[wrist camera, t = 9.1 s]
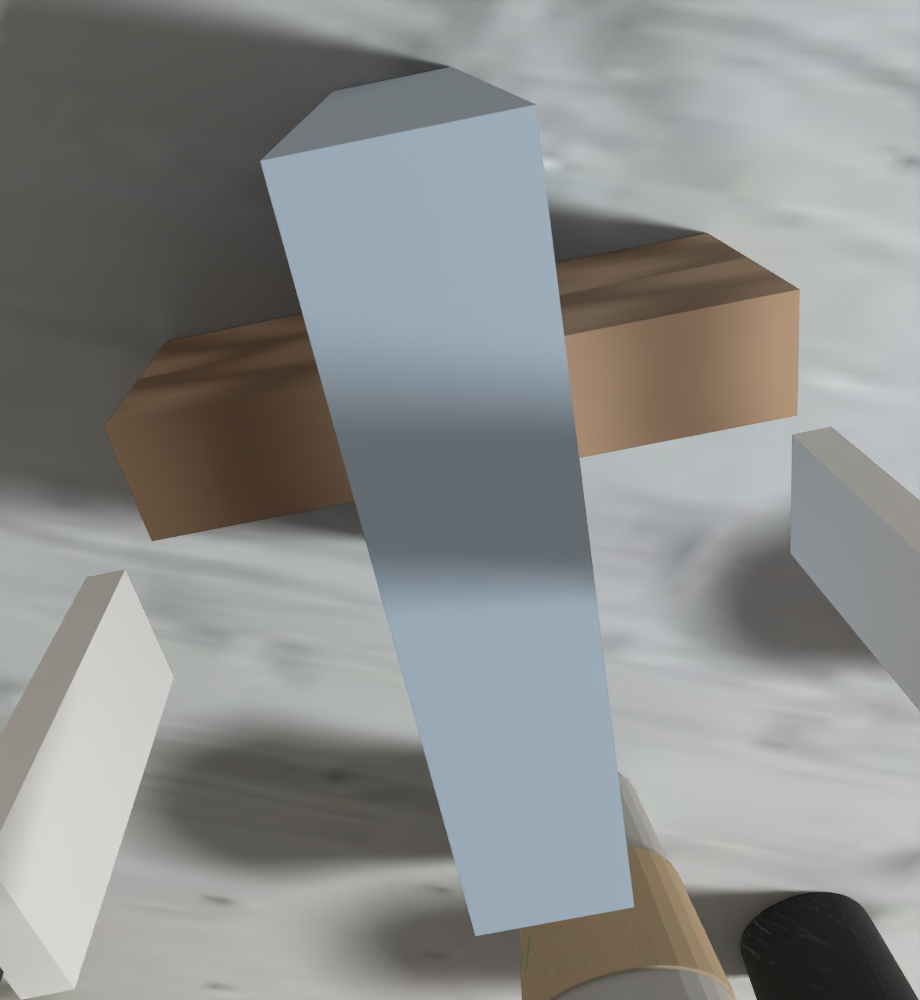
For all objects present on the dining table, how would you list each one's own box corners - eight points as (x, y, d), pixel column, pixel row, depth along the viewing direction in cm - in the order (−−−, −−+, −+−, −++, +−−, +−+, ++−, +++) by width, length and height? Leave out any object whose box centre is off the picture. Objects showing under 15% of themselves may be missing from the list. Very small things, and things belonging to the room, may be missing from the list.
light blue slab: (437, 546, 32) (475, 936, 18) (333, 90, 24) (260, 160, 10) (527, 529, 32) (634, 907, 18) (451, 66, 24) (535, 104, 10)
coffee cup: (439, 812, 39) (465, 1200, 26) (600, 702, 37) (717, 1071, 24) (562, 901, 43) (639, 1278, 30) (716, 808, 41) (872, 1176, 27)
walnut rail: (200, 436, 29) (151, 541, 23) (166, 341, 28) (103, 427, 22) (710, 335, 29) (797, 415, 23) (707, 233, 27) (799, 289, 21)
